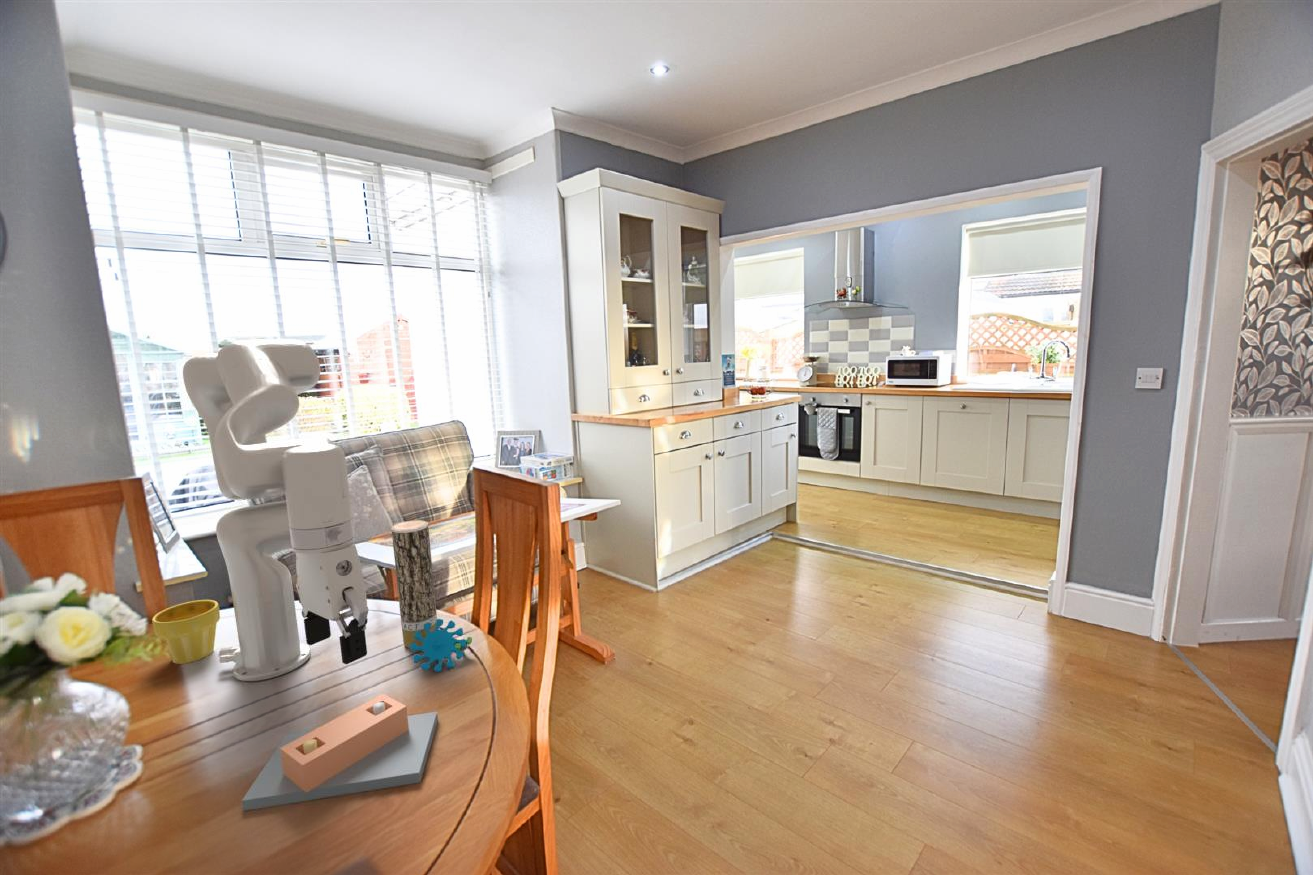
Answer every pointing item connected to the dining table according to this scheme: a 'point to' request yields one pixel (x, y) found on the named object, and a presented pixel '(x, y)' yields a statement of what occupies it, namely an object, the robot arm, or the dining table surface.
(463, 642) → the blue virus model
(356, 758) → the holed bar
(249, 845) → the dining table surface
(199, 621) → the plant pot
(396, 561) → the bark log
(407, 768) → the slate board
